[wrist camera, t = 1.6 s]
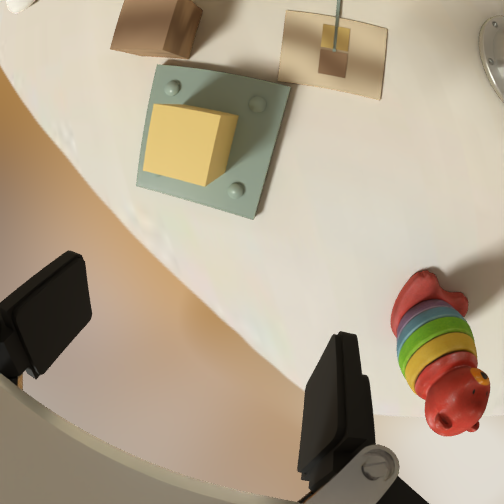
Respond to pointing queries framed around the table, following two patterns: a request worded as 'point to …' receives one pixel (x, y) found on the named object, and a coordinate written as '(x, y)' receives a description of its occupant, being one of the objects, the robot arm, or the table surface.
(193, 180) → the mustard cube
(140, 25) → the walnut cube
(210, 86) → the baseplate
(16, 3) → the flower in vase
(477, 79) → the table surface
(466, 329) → the stacking bear
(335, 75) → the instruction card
